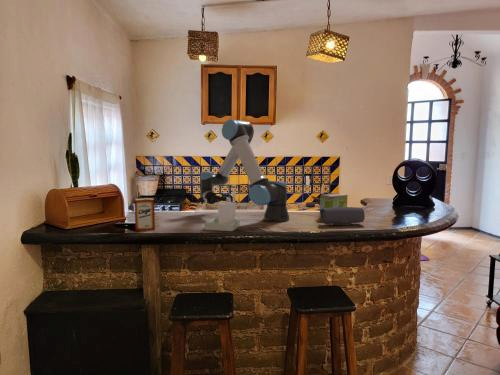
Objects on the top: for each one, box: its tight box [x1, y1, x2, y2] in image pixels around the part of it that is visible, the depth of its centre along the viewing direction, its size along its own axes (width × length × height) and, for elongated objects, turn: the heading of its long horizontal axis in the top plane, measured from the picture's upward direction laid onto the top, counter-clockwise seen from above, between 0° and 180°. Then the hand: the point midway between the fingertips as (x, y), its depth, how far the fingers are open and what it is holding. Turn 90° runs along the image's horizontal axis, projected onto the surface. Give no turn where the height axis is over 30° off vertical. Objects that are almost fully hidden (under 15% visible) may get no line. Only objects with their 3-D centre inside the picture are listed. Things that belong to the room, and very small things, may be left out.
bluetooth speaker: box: [319, 206, 365, 226], centre depth 200 cm, size 23×9×10 cm, turn 100°
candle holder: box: [217, 201, 237, 224], centre depth 193 cm, size 10×10×12 cm
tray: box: [204, 217, 241, 232], centre depth 192 cm, size 15×15×4 cm
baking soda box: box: [134, 197, 156, 232], centre depth 186 cm, size 10×6×16 cm
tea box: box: [318, 193, 348, 219], centre depth 220 cm, size 15×10×15 cm, turn 131°
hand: (218, 201), depth 201 cm, fingers open, 13 cm apart
